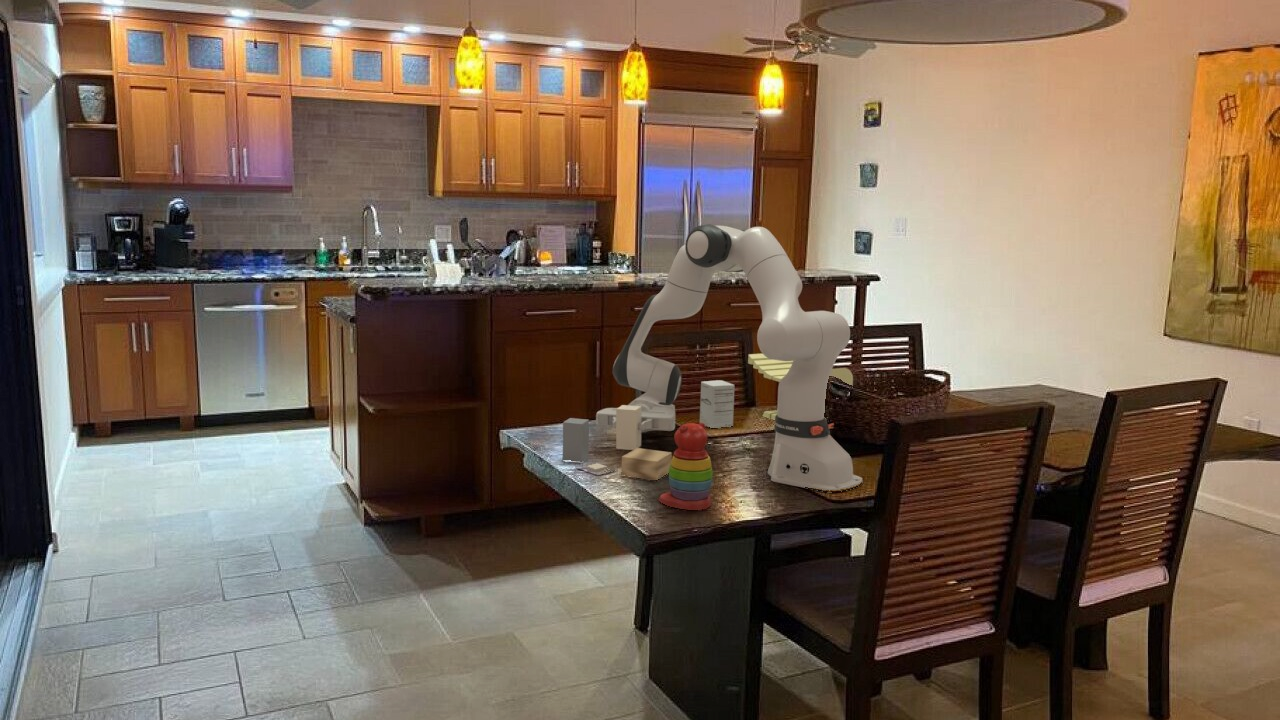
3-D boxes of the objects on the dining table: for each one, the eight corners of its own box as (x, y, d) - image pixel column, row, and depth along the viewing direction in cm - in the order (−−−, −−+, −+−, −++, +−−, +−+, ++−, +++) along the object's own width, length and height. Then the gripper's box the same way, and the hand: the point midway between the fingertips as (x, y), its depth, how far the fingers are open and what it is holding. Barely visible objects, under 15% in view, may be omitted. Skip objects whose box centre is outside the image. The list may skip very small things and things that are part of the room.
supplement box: (698, 423, 278) (700, 381, 276) (721, 421, 281) (722, 379, 279) (711, 429, 272) (712, 385, 270) (733, 427, 275) (735, 384, 273)
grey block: (588, 458, 239) (588, 419, 237) (581, 463, 234) (582, 424, 233) (569, 456, 240) (569, 418, 239) (562, 461, 236) (562, 422, 234)
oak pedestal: (671, 472, 229) (671, 452, 228) (656, 482, 221) (657, 461, 220) (637, 467, 233) (637, 447, 232) (621, 477, 224) (621, 456, 224)
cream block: (641, 445, 239) (641, 406, 238) (635, 450, 235) (635, 410, 233) (622, 444, 241) (622, 405, 239) (616, 448, 236) (616, 408, 234)
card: (617, 471, 228) (617, 467, 228) (598, 476, 224) (598, 472, 224) (594, 464, 234) (594, 460, 234) (576, 468, 230) (576, 464, 229)
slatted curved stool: (850, 427, 277) (853, 367, 274) (805, 432, 270) (809, 370, 267) (788, 406, 304) (790, 351, 301) (746, 411, 296) (748, 354, 293)
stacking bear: (697, 494, 212) (700, 415, 209) (723, 507, 203) (725, 425, 200) (655, 500, 207) (657, 420, 204) (679, 514, 198) (681, 430, 195)
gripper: (604, 400, 251) (587, 410, 238) (680, 405, 246) (667, 415, 233) (604, 423, 252) (587, 435, 239) (680, 429, 247) (667, 441, 234)
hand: (627, 425), depth 236 cm, fingers closed on cream block, 5 cm apart
